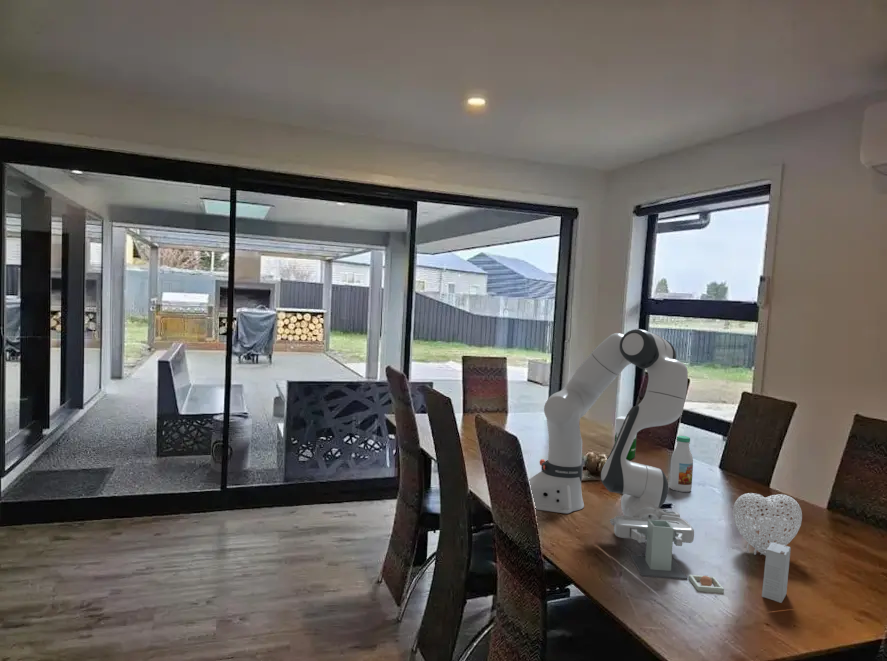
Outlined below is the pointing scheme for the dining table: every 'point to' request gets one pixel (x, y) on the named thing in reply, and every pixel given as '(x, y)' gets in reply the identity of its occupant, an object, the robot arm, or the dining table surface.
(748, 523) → the decorative heart
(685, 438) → the milk bottle
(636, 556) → the slate coaster
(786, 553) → the skincare box
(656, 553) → the celadon tumbler
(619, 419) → the milk carton
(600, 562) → the dining table surface
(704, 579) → the terracotta ball
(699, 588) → the sage dish
